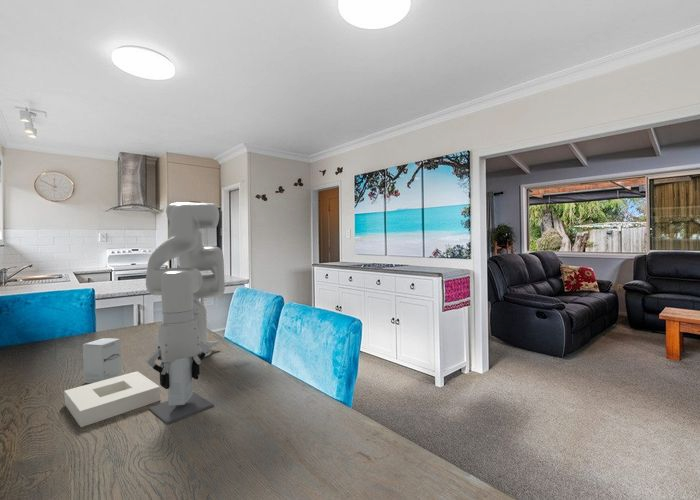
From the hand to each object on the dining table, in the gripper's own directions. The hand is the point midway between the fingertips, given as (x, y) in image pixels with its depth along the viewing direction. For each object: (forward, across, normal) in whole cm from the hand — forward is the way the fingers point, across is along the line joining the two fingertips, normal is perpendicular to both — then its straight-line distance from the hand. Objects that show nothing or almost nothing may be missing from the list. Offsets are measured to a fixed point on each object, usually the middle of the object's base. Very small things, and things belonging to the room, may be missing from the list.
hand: (180, 382), depth 93 cm
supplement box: (+7, +8, -40) cm, 41 cm away
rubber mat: (+7, 0, 0) cm, 7 cm away
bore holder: (+7, +11, -18) cm, 22 cm away
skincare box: (+5, 0, 0) cm, 5 cm away
